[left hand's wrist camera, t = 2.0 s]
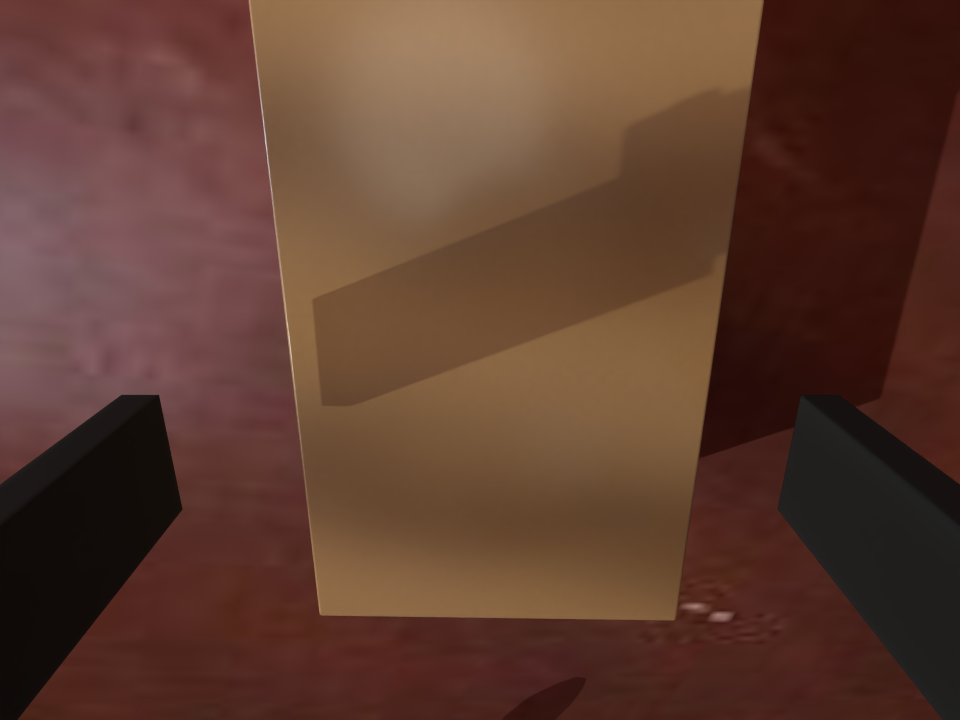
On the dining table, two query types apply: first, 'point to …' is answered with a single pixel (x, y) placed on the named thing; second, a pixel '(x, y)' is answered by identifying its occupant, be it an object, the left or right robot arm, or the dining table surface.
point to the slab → (502, 290)
